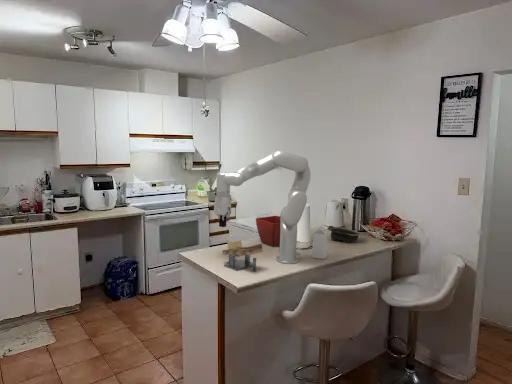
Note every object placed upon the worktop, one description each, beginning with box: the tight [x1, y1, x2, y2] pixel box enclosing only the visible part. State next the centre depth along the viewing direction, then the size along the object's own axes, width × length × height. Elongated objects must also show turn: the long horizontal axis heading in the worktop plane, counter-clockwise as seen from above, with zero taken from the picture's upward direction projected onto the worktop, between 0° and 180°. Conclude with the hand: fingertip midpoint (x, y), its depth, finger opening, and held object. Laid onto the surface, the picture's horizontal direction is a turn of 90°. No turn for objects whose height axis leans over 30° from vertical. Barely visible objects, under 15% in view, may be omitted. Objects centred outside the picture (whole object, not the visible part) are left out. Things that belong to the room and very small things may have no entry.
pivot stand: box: [223, 255, 257, 272], centre depth 192 cm, size 21×14×7 cm
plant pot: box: [255, 215, 280, 248], centre depth 241 cm, size 19×19×17 cm
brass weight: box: [227, 240, 243, 250], centre depth 196 cm, size 6×5×5 cm
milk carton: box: [311, 224, 328, 260], centre depth 213 cm, size 7×7×19 cm
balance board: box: [222, 243, 264, 256], centre depth 192 cm, size 22×9×4 cm, turn 45°
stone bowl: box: [326, 225, 363, 244], centre depth 256 cm, size 25×25×9 cm
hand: (222, 226), depth 202 cm, fingers closed
